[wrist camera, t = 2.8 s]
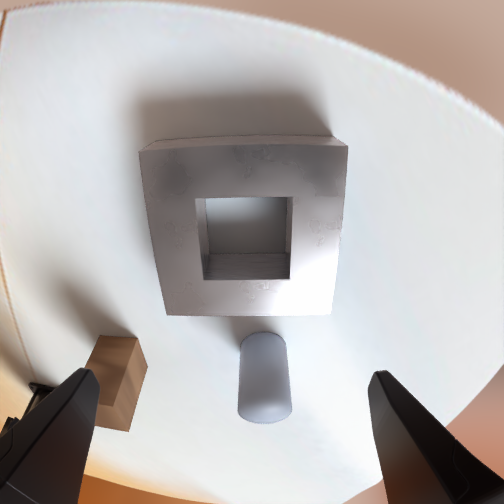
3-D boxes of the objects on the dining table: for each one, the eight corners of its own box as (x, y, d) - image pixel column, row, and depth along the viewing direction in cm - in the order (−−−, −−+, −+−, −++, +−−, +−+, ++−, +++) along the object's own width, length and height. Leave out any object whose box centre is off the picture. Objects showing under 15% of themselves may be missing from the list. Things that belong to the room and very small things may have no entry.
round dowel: (241, 363, 25) (239, 423, 20) (239, 332, 24) (236, 396, 18) (285, 362, 25) (290, 422, 20) (287, 331, 24) (294, 395, 18)
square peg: (112, 363, 26) (89, 424, 20) (100, 335, 24) (70, 398, 18) (147, 366, 26) (128, 431, 20) (137, 338, 24) (113, 406, 18)
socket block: (176, 287, 22) (166, 315, 19) (156, 140, 17) (138, 151, 14) (321, 285, 22) (330, 313, 19) (333, 136, 17) (348, 146, 14)
